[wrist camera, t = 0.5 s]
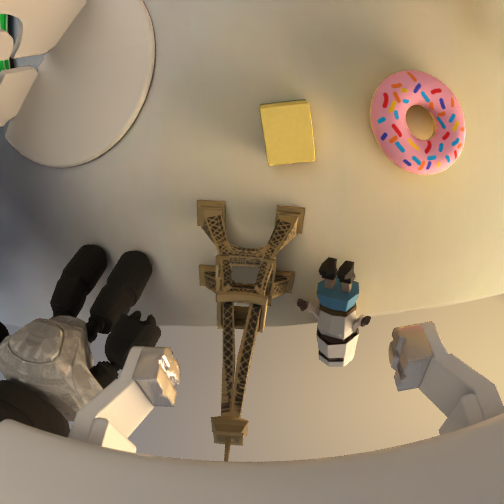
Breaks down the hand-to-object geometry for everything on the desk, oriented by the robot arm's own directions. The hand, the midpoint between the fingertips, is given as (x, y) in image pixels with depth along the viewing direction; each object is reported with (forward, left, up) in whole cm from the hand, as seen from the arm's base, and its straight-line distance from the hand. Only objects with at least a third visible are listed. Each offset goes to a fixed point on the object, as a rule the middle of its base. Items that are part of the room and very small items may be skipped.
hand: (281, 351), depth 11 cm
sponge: (-3, +2, -22) cm, 22 cm away
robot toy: (+7, -21, -22) cm, 31 cm away
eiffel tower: (+9, -4, -22) cm, 24 cm away
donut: (-8, +16, -19) cm, 26 cm away
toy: (+10, +5, -20) cm, 23 cm away
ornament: (-11, -17, -22) cm, 30 cm away
